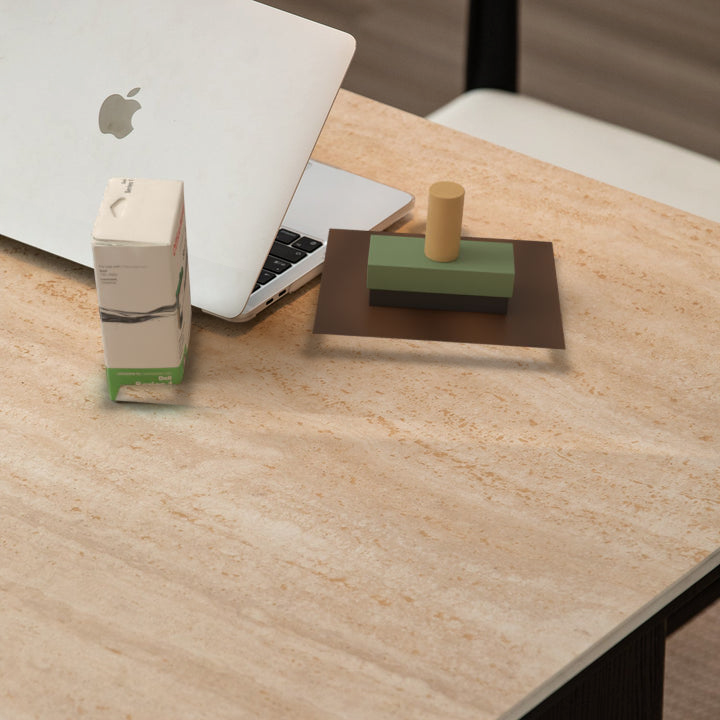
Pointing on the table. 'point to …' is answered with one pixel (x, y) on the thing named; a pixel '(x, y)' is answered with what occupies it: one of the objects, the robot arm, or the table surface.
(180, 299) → the ink box
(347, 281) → the board
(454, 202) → the brush
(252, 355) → the table surface
